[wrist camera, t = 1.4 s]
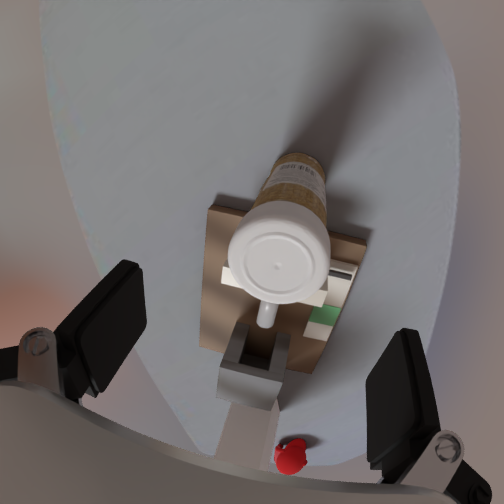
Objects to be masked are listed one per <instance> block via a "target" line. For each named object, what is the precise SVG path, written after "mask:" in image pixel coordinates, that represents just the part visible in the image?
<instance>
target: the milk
mask: <svg viewBox="0 0 504 504" xmlns="http://www.w3.org/2000/svg"><path fill="white" fill-rule="evenodd" d="M279 415H280V410H279V405H278V400H277V398H276V400H275V403H274V405H273V407H272V409H271V411H266V410H262V409H258V408H253V407H249V406H245V405H241V404H237V403H234V402H231V406H230V409H229V412H228V415H227V418H226V421H225V425H224V428H223V431H222V434H221V437H220V440H219V443H218V446H217V449H216V452H215V456H214V459H216V460H220V461H224V462H227V463H231V464H235V465H239V466H244V467H248V468H252V469H257V470H262V471H267V472H268V468H269V464H270V459H271V455H272V450H273V445H274V440H275V435H276V430H277V425H278V420H279Z"/></svg>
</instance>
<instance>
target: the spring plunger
mask: <svg viewBox="0 0 504 504" xmlns="http://www.w3.org/2000/svg"><path fill="white" fill-rule="evenodd" d="M328 275H329V276H333V277H337V278H342V279H346V280H350V281H351V279H352V274H348V273H344V272H340V271H336V270H331V269H330V270H329V274H328ZM221 283H222V284H226V285H230V286H234V287H238V288H242V287H241V286H240V285H239V284H238V283H237V281H236V280H235V279H234V277H233V275H232V273H231V270H230V268H229V264H228V258H227V260H226V261H225V263H224V265H223V269H222V279H221ZM242 289H243V288H242ZM327 292H328V276H327V279H326V281H325V282H324V284H323V285H322V287H321V288H320V289H319V290H318V291H317V292H316V293H314V294H313V295H312V296H310V297H308V298H306V299H304V300H302V301H299V302H300V303H304V304H309V305H313V306H318V307H322V305H323V303H324V300H325V298H326V295H327ZM278 306H279V304H275V303H270V302H266V301H263V300H261V302H260V307H259V312H258V316H257V321H256V322H257V324H258V325H259V326H260V327H262V328H270V327H272V326H273V324H274V320H275V317H276V313H277V309H278Z"/></svg>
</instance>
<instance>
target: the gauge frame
mask: <svg viewBox="0 0 504 504" xmlns="http://www.w3.org/2000/svg"><path fill="white" fill-rule="evenodd" d="M247 213H248V212H245V211H241V210H236V209H231V208H227V207H222V206H217V205H211V207H210V208H209V209H208V214H207V226H206V238H205V251H204V266H203V281H202V298H201V317H200V341H199V346H200V347H204V348H207V349H210V350H214V351H217V352H221V353H224V356H223V359H222V362H221V364H220V367H219V376H218V384H217V393H216V398H219V399H223V400H226V401H230V402H234V403H237V404H241V405H245V406H249V407H253V408H258V409H262V410H266V411H271V409H272V407H273V405H274V403H275V400H276V398H277V396H278V393H279V391H280V388H281V386H282V384H283V379H284V374H285V369H290V370H294V371H299V372H304V373H309V374H312V372H313V370H314V368H315V366H316V364H317V362H318V360H319V358H320V356H321V354H322V352H323V350H324V348H325V346H326V343H327V341H328V339H329V337H330V335H331V333H332V330H333V328H334V326H335V324H336V322H337V319H338V317H339V315H340V313H341V310H342V308H343V306H344V303H345V301H346V299H347V296H348V294H349V291H350V289H351V287H352V284H353V282H354V279H355V277H356V274H357V272H358V269H359V266H360V264H361V261H362V259H363V256H364V253H365V251H366V248H367V245H366V241H365V240H363V239H359V238H355V237H351V236H347V235H343V234H339V233H335V232H331V231H327V232H328V235H329V239H330V250H331V253H330V269H331V270H336V271H340V272H344V273H348V274H352V279H351V281H350V280H346V279H342V278H337V277H333V276H329V275H328V292H327V295H326V298H325V300H324V303H323V305H322V307H318V306H313V305H309V304H304V303H300V302H295V303H289V304H279V306H278V309H277V313H276V317H275V320H274V324H273V326H272V327H270V328H262V327H260V326H259V325H258V324H257V322H256V321H257V316H258V312H259V307H260V302H261V300H260V299H258V298H256V297H254V296H252V295H250V294H249V293H247V292H246V291H245V290H244V289H242V288H238V287H234V286H230V285H226V284H222V283H221V279H222V269H223V265H224V263H225V261H226V260H227V258H228V248H229V244H230V241H231V239H232V236H233V234H234V232H235V230H236V228H237V227H238V225H239V223H240V221H241V220H242V218H243V217H244V216H245V215H246V214H247Z"/></svg>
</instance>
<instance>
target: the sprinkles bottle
mask: <svg viewBox="0 0 504 504" xmlns="http://www.w3.org/2000/svg"><path fill="white" fill-rule="evenodd" d="M326 223H327V210H326V192H325V174H324V171H323V169H322V167H321V165H320V164H319V163H318V161H316V160H315V159H314V158H313V157H310V156H309V155H306V154H303V153H290V154H288V155H285V156H283V157H281V158H280V159H279V160H278V161H277V162H276V163H275V164H274V166H273V168H272V170H271V174H270V176H269V177H268V178H267V179H266V181H265V182H264V184H263V186H262V188H261V190H260V192H259V195H258V197H257V199H256V201H255V203H254V205H253V206H252V208H251V210H250V211H249V212H248V213H247V214H246V215H245V216H244V217H243V218H242V220H241V221H240V223H239V225H238V227H237V228H236V230H235V232H234V234H233V236H232V239H231V241H230V244H229V248H228V264H229V268H230V270H231V273H232V275H233V277H234V279H235V280H236V281H237V283H238V284H239V285H240V286H241V287H242V288H243V289H244V290H245V291H246V292H247V293H249V294H250V295H252V296H254V297H256V298H258V299H260V300H263V301H266V302H270V303H275V304H289V303H295V302H299V301H302V300H304V299H306V298H308V297H310V296H312V295H313V294H314V293H316V292H317V291H318V290H319V289H320V288H321V287H322V285H323V284H324V282H325V281H326V279H327V276H328V274H329V270H330V253H331V250H330V239H329V235H328V232H327V229H326Z"/></svg>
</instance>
